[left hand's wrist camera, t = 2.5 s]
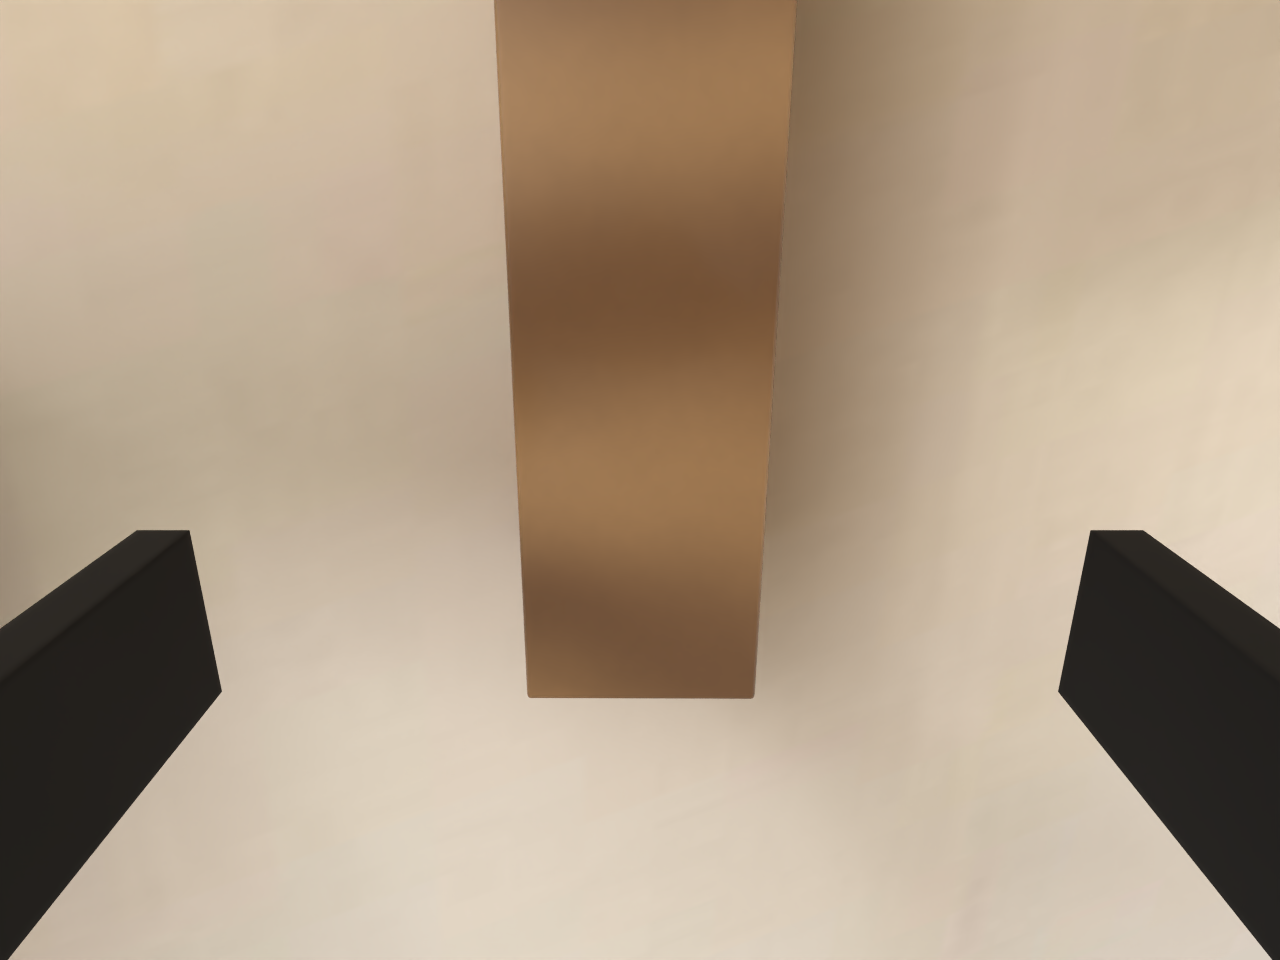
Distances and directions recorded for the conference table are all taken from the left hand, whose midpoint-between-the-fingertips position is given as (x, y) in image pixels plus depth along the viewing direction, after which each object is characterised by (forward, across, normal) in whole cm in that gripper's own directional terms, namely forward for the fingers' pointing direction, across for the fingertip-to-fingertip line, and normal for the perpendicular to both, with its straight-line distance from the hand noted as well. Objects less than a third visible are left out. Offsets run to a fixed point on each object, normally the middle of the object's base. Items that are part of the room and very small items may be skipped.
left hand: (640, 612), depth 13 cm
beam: (+15, 0, -19) cm, 24 cm away
